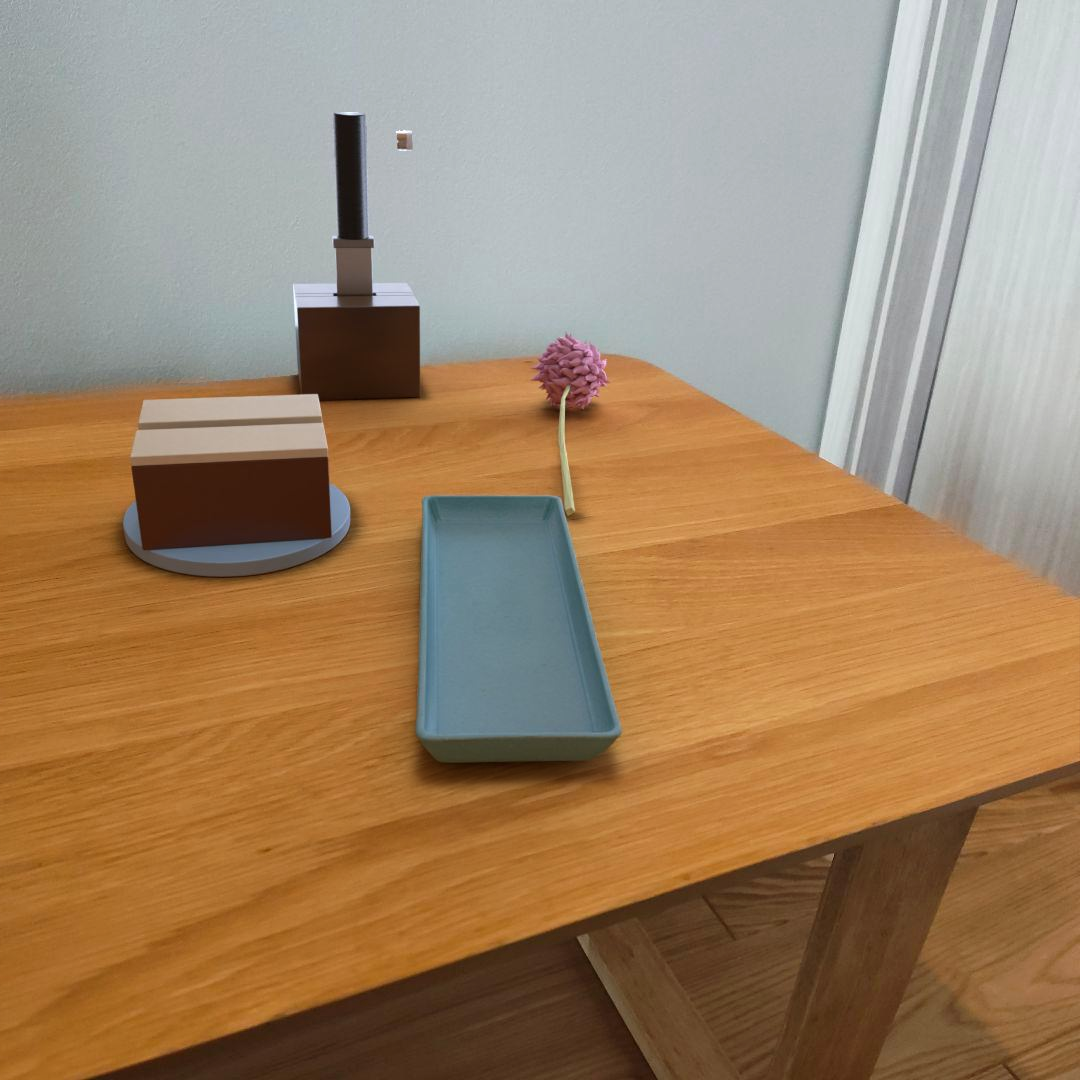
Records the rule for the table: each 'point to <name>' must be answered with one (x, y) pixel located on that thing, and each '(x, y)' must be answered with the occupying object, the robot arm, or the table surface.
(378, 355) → the knife block
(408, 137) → the robot arm
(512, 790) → the table surface
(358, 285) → the knife
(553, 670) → the teal serving tray
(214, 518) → the cake
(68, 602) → the table surface
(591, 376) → the artificial flower
